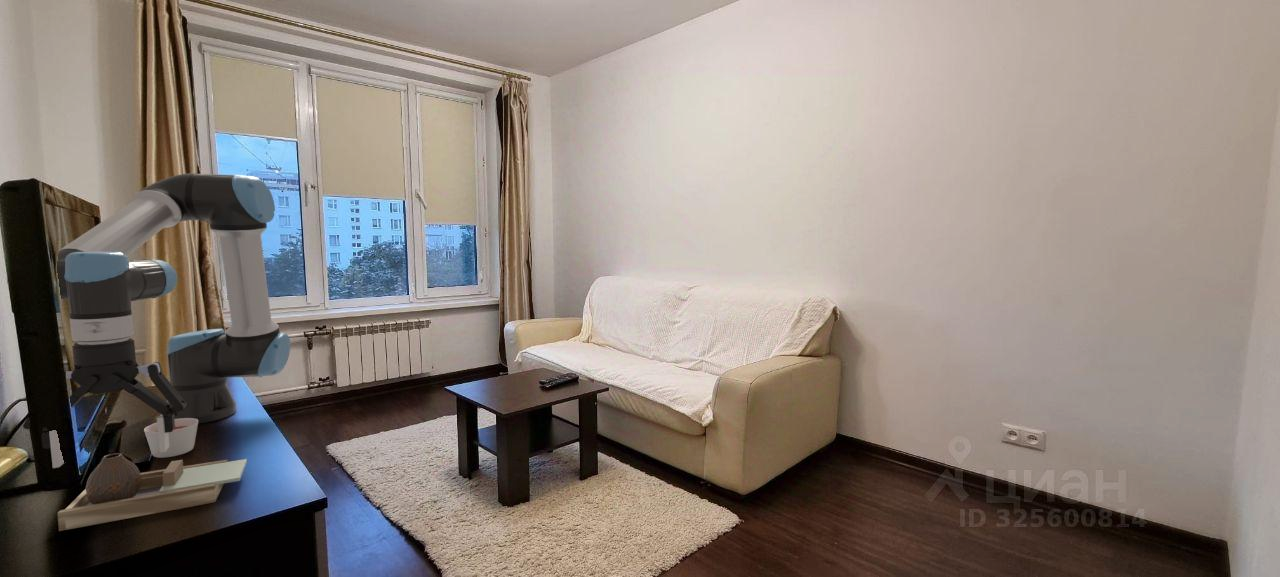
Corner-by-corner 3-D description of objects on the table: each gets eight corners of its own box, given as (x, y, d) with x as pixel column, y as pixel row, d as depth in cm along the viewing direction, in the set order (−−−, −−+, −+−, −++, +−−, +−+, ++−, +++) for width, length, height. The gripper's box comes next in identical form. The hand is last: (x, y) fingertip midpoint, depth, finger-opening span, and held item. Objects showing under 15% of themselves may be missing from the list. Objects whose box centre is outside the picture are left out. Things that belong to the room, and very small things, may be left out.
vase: (107, 515, 88) (103, 465, 87) (76, 510, 90) (72, 461, 89) (152, 496, 95) (149, 450, 94) (123, 491, 96) (120, 446, 96)
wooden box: (91, 496, 95) (90, 480, 95) (228, 474, 105) (227, 459, 105) (58, 531, 84) (57, 513, 84) (215, 502, 94) (214, 485, 94)
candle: (137, 463, 110) (135, 434, 109) (156, 447, 118) (154, 420, 117) (191, 456, 113) (189, 428, 113) (205, 442, 122) (204, 416, 121)
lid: (173, 473, 100) (172, 457, 99) (247, 461, 105) (246, 447, 105) (159, 494, 91) (158, 477, 91) (239, 480, 97) (238, 464, 97)
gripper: (-17, 351, 80) (-2, 481, 82) (191, 338, 93) (199, 451, 95) (9, 342, 86) (22, 462, 89) (201, 331, 99) (208, 436, 101)
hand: (114, 457), depth 92 cm, fingers open, 13 cm apart
